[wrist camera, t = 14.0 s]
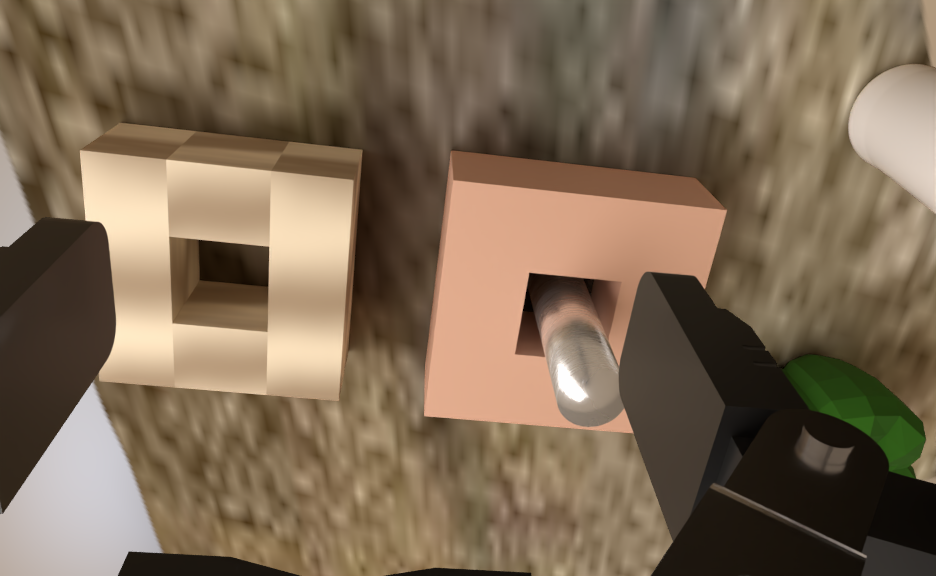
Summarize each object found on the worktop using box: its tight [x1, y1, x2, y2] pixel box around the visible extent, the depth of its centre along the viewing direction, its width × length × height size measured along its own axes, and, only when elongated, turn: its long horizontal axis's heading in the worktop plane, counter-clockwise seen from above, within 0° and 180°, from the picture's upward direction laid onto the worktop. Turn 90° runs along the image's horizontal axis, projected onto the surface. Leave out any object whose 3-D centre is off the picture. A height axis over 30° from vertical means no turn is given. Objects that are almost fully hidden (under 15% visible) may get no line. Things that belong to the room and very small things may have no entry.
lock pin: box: [527, 273, 624, 427], centre depth 38 cm, size 3×3×12 cm
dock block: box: [424, 150, 727, 433], centre depth 41 cm, size 13×13×5 cm
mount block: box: [80, 123, 363, 401], centre depth 40 cm, size 12×12×5 cm
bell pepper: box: [781, 354, 926, 479], centre depth 43 cm, size 8×8×10 cm
